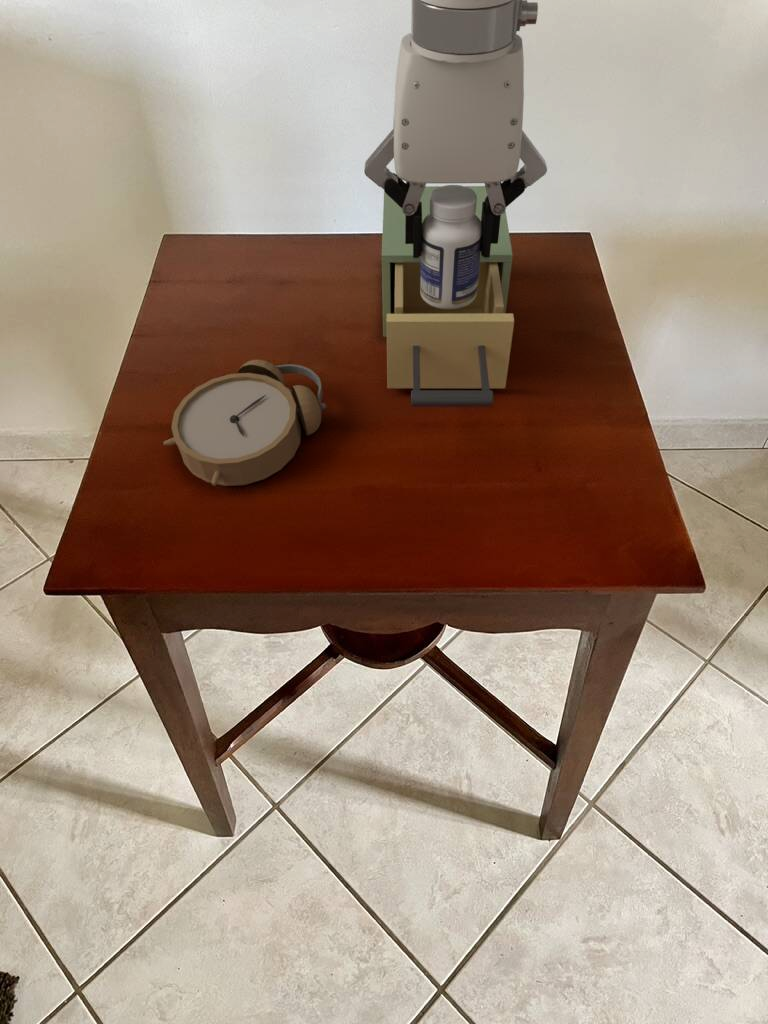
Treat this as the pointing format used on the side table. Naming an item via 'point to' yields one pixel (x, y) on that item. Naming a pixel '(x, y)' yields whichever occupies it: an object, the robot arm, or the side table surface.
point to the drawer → (448, 342)
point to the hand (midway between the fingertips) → (450, 247)
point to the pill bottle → (450, 248)
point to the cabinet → (402, 252)
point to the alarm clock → (245, 423)
